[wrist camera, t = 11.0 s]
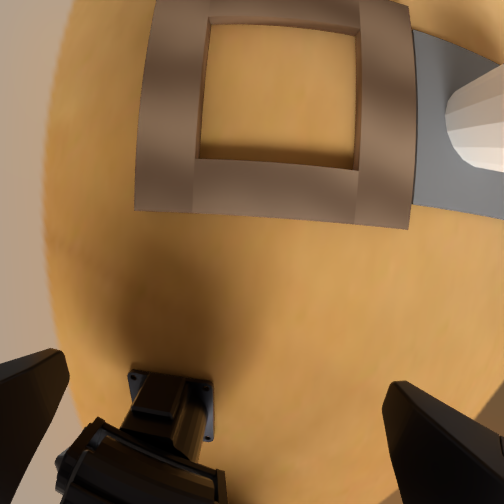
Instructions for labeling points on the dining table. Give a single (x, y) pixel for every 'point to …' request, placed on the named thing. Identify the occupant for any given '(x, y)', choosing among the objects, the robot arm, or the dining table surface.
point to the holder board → (270, 173)
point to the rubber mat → (437, 139)
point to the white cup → (479, 121)
